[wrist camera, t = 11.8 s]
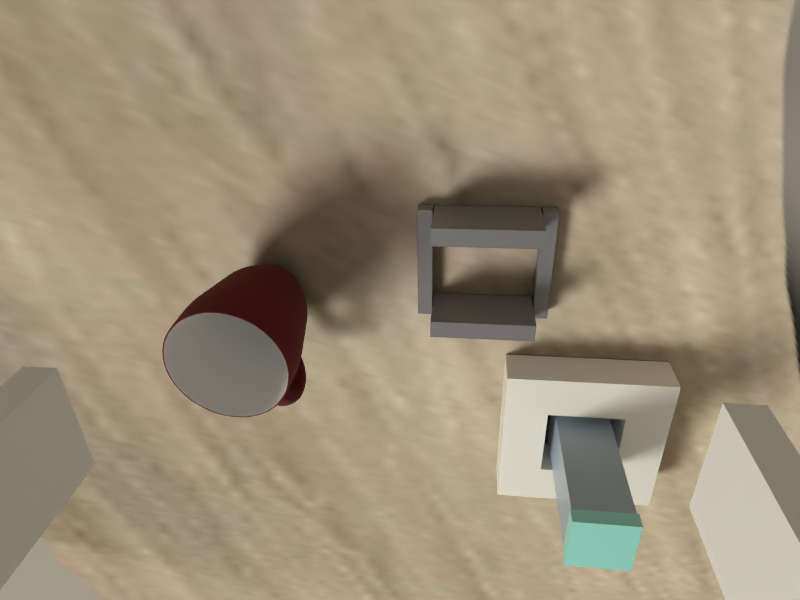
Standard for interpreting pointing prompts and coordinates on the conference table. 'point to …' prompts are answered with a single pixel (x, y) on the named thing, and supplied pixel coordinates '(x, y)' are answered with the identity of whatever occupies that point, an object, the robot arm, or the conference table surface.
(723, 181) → the conference table surface
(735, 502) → the robot arm
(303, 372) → the mug
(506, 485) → the frame
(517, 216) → the holster
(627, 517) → the plug
